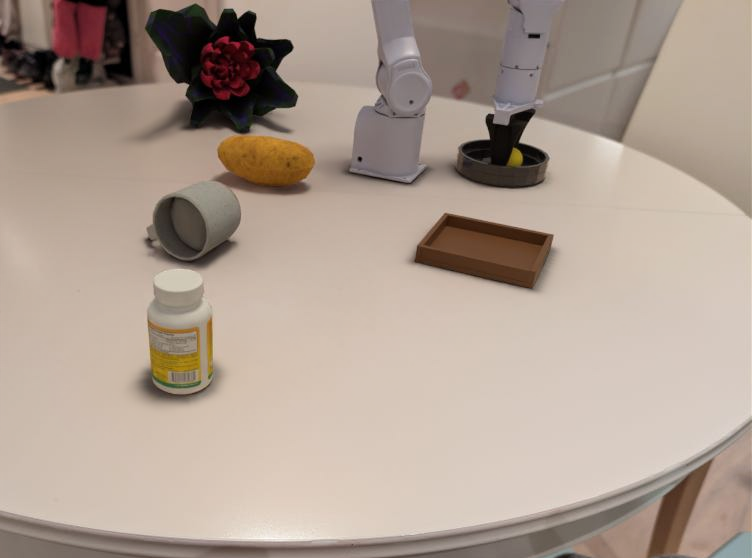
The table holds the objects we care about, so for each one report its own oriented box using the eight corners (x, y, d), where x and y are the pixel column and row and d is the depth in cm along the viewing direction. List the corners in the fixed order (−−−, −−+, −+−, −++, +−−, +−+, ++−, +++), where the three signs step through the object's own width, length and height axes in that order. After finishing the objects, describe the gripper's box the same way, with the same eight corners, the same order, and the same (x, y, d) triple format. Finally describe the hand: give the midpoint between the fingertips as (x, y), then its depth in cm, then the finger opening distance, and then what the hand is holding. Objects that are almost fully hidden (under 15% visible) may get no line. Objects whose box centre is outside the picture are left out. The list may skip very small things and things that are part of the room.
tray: (414, 261, 85) (416, 245, 84) (442, 227, 93) (444, 212, 92) (531, 288, 80) (535, 272, 79) (550, 250, 88) (554, 234, 87)
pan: (444, 177, 108) (447, 157, 107) (467, 153, 118) (471, 134, 116) (535, 194, 103) (540, 173, 102) (551, 167, 113) (556, 148, 111)
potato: (298, 200, 99) (301, 150, 96) (209, 183, 104) (208, 134, 100) (320, 182, 105) (323, 135, 101) (235, 166, 110) (234, 120, 106)
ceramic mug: (246, 241, 88) (245, 178, 84) (209, 268, 82) (206, 201, 78) (172, 224, 92) (167, 163, 88) (132, 248, 86) (125, 184, 82)
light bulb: (522, 175, 108) (519, 154, 106) (481, 179, 111) (477, 159, 109) (525, 161, 110) (522, 141, 108) (484, 166, 113) (480, 146, 111)
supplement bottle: (182, 404, 61) (176, 303, 56) (138, 379, 64) (129, 280, 59) (226, 376, 65) (225, 278, 59) (183, 354, 68) (178, 258, 62)
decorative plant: (261, 156, 143) (279, 166, 114) (133, 98, 137) (119, 94, 109) (305, 50, 137) (336, 33, 109) (174, -15, 132) (170, -50, 103)
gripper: (540, 79, 95) (518, 181, 103) (559, 59, 106) (538, 152, 114) (486, 72, 98) (468, 172, 106) (510, 53, 109) (492, 145, 116)
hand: (501, 161), depth 110 cm, fingers closed on light bulb, 3 cm apart
